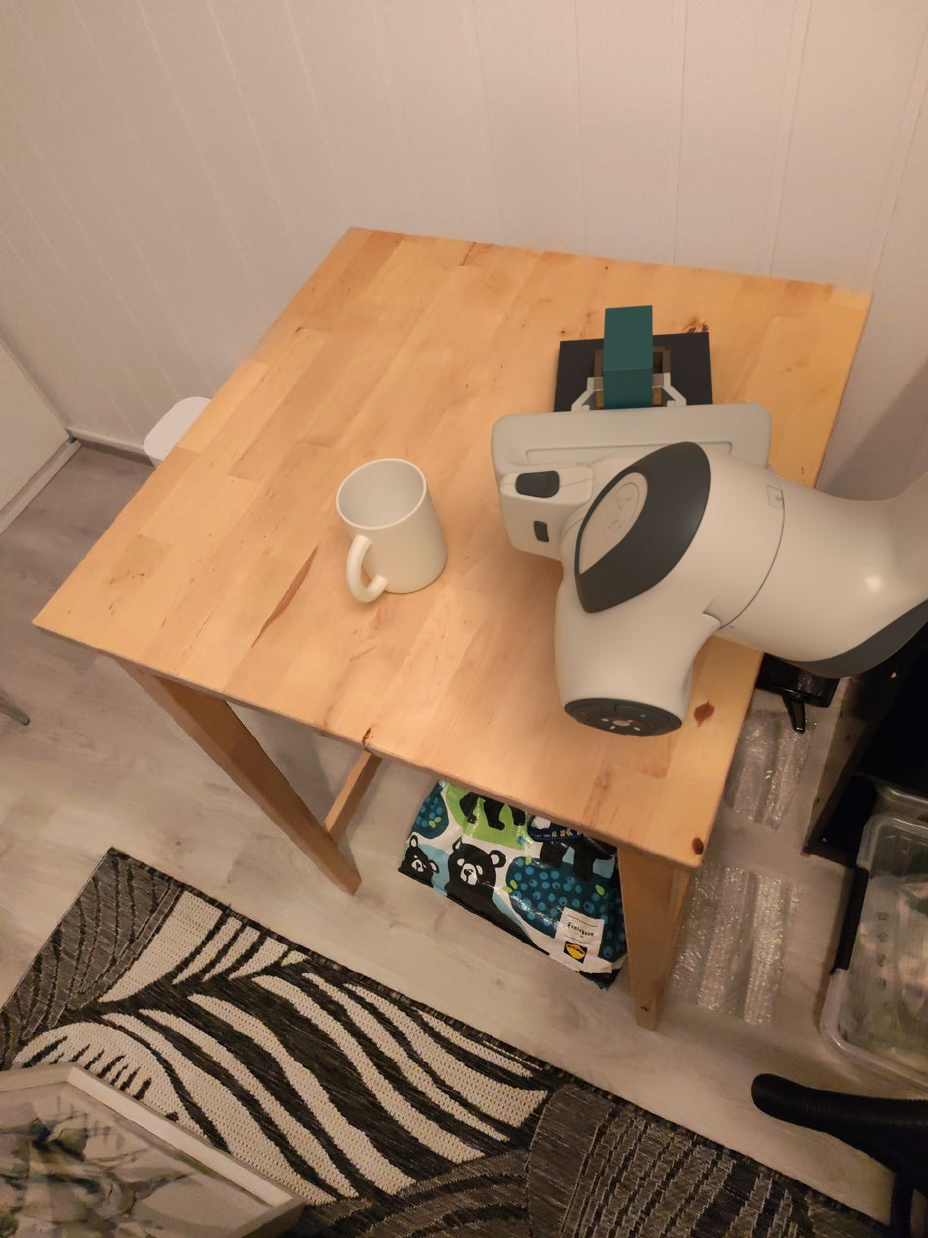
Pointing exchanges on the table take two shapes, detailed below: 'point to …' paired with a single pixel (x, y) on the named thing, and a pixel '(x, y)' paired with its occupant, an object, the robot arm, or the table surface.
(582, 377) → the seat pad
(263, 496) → the table surface
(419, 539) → the mug
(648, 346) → the back pad
